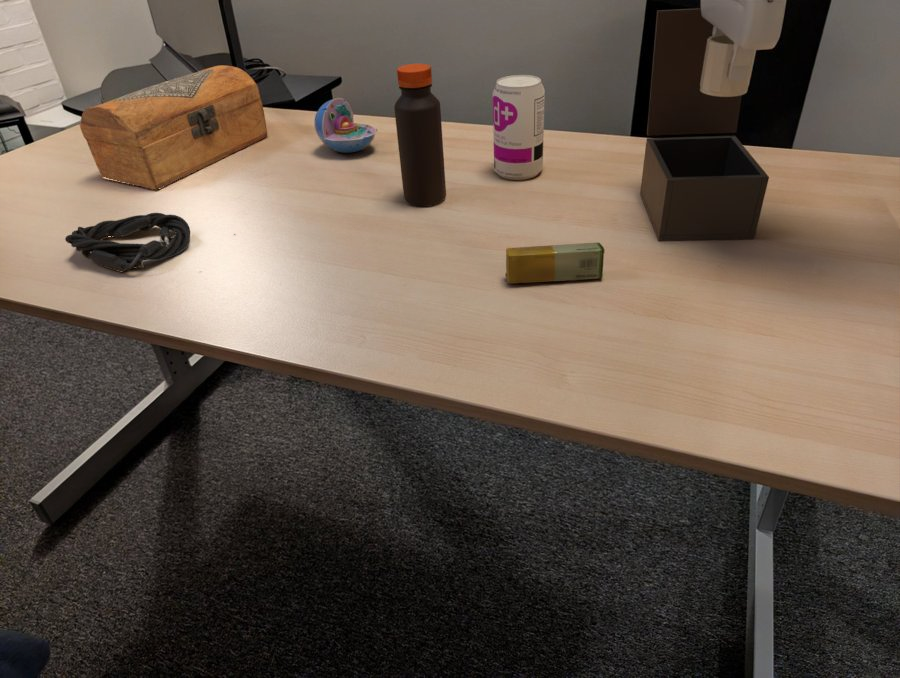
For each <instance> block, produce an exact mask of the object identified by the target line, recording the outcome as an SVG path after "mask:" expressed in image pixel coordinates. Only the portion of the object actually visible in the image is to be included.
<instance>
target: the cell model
mask: <svg viewBox="0 0 900 678" xmlns="http://www.w3.org/2000/svg"><path fill="white" fill-rule="evenodd" d="M313 124H314V125H313V126H314V130H315V133H316V135H317V137H318V138H319V140H320V141H321V142H322V143H323V144H324V145H325V146H326V147H327V148H329V149H331V150H332V151H335V152H338V153H341V154H351V153H357V152H359V151H362V150H364V149H365V148H367V147H368V146H369V145H370V144H371V143H372V141H373V140H374V138H375V136H376V133H377V131H378V128H376V127H374V126H372V125H370V124H366V123H358V122H354V112H353V110H352V108H351V106H350V104H349V102H348V101H347V100H345V99H344V98H342V97H336V98H332V99H330V100H327V101H326V102H324V103H323V104H322V105H321V106H320V107H319V108H318V110H317V111H316V113H315V115H314V122H313Z"/></svg>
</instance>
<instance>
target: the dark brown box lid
mask: <svg viewBox="0 0 900 678" xmlns="http://www.w3.org/2000/svg"><path fill="white" fill-rule="evenodd" d="M655 19H656V20H655V31H654V44H653V55H652V68H651V78H650V90H649V103H648V111H647V113H648V114H647V125H646V135H647V136H673V135H696V134H697V135H704V134H706V135H707V134H735V133H737V130H738V124H739V116H740V111H741V103H742V96H743V95H740V96H734V97H719V96H711V95H707V94H704V93H702V92H701V91H700V82H701V76H702V70H703V63H704V57H705V51H706V45H707V39H708V38H709V37H711V36H712V32H713V25H712V24H711V23H710V22H708V21H707V20H706V19H705V18H703V17H702V14H701V7H700V8H679V9H661V10H660V9H659V10H657V11H656V18H655Z"/></svg>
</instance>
